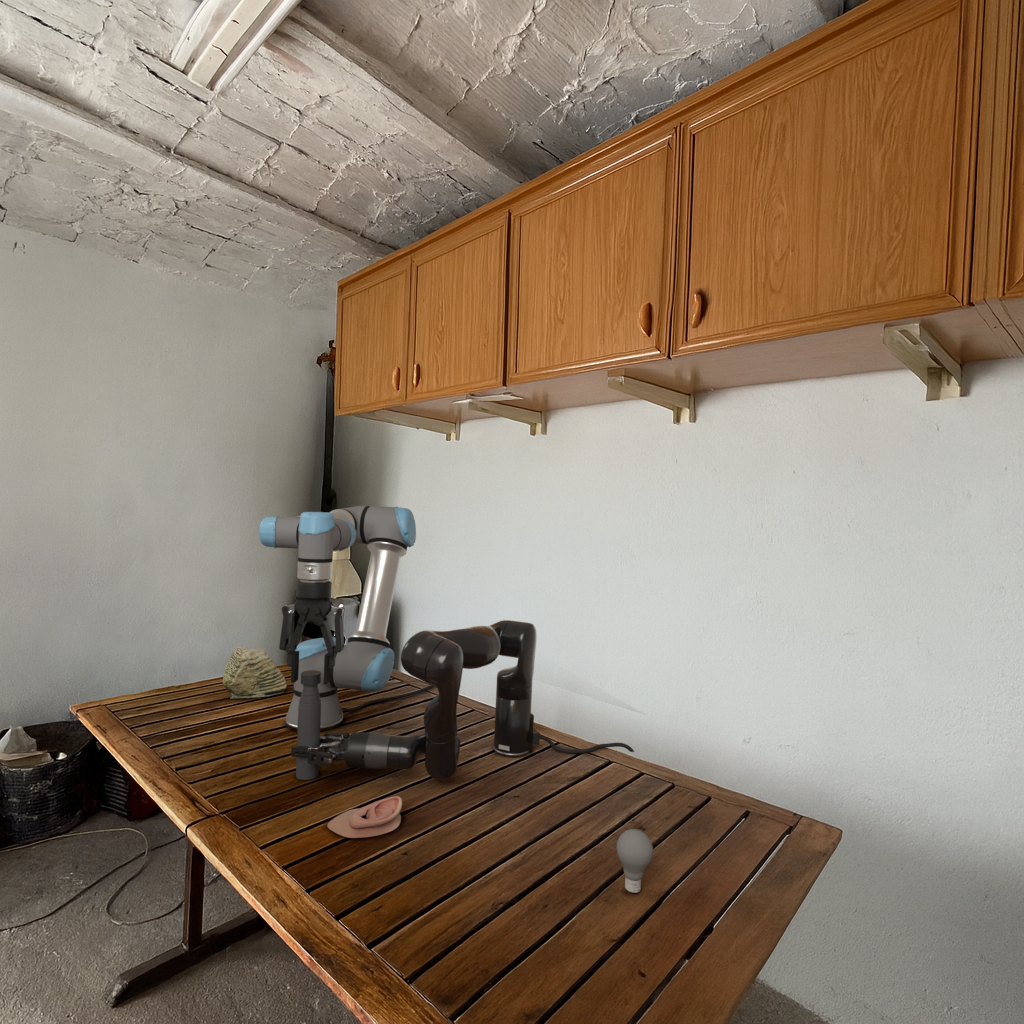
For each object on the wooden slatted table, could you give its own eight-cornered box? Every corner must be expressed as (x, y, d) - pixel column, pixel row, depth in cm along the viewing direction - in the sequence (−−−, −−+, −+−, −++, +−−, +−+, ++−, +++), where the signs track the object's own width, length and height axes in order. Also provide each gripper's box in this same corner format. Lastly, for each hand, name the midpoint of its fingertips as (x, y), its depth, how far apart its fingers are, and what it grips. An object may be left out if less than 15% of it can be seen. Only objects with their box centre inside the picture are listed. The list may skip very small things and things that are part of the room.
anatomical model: (320, 812, 119) (347, 786, 130) (319, 833, 119) (347, 805, 130) (386, 822, 116) (408, 795, 127) (385, 844, 116) (408, 814, 128)
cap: (305, 686, 140) (306, 676, 140) (297, 682, 143) (297, 672, 143) (324, 683, 143) (324, 673, 143) (315, 679, 146) (315, 669, 146)
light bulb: (610, 879, 108) (613, 822, 108) (644, 879, 109) (647, 822, 109) (619, 902, 102) (622, 840, 102) (655, 901, 103) (658, 840, 103)
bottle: (302, 782, 140) (306, 680, 140) (291, 774, 144) (295, 675, 143) (322, 775, 144) (326, 676, 143) (311, 768, 147) (315, 671, 147)
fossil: (218, 695, 195) (220, 647, 195) (278, 685, 208) (279, 640, 207) (228, 703, 189) (230, 653, 188) (289, 692, 201) (290, 645, 201)
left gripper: (264, 580, 139) (260, 684, 139) (353, 584, 139) (349, 688, 139) (277, 576, 147) (273, 675, 147) (361, 580, 147) (357, 678, 147)
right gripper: (379, 723, 150) (308, 719, 151) (362, 746, 136) (284, 741, 136) (377, 754, 150) (307, 750, 151) (361, 781, 136) (283, 776, 136)
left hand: (310, 681), depth 143 cm, fingers open, 7 cm apart
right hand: (296, 746), depth 144 cm, fingers closed on bottle, 5 cm apart
